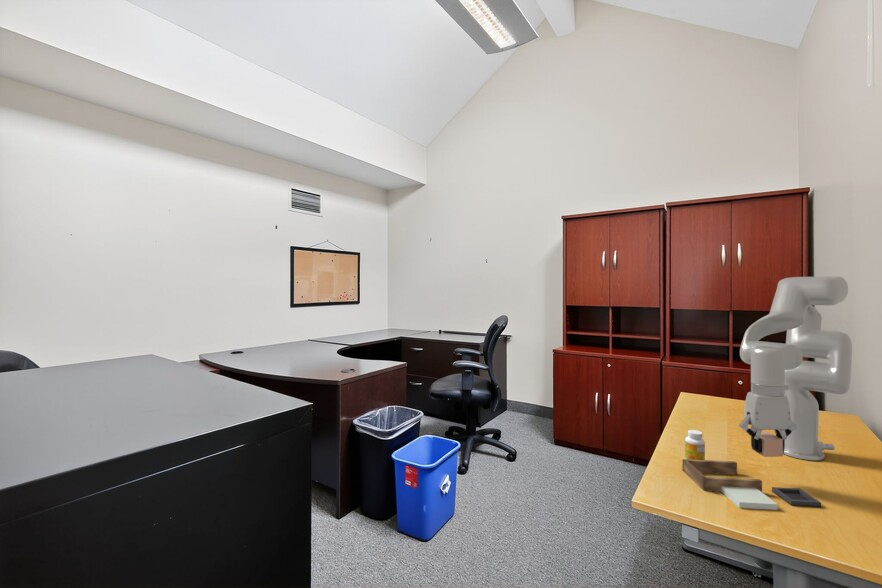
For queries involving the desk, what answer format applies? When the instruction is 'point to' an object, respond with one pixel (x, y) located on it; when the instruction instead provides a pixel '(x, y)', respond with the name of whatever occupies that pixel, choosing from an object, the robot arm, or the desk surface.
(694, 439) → the supplement bottle
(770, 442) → the terracotta cube
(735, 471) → the wooden tray frame
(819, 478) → the desk surface
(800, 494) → the dark gray rectangular tray
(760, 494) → the sage tile
